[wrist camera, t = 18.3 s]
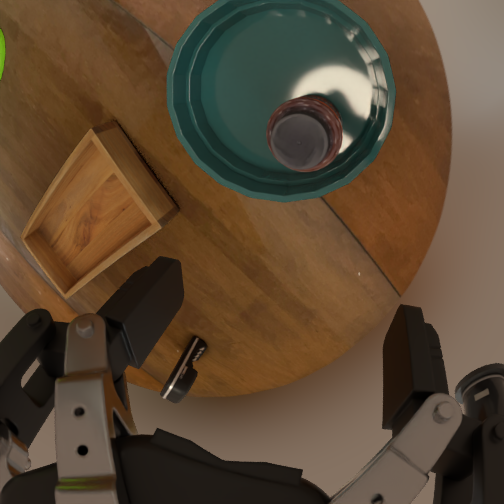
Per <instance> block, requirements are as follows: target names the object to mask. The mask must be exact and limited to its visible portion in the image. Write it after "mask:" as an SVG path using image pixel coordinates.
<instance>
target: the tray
mask: <svg viewBox="0 0 504 504" xmlns="http://www.w3.org/2000/svg"><path fill="white" fill-rule="evenodd" d="M178 212H179V209H178V208H177V206H176V205H175V204H174V202H173V201H172V199H171V198H170V197H169V195H168V194H167V193H166V191H165V190H164V189H163V187H162V186H161V184H160V183H159V182H158V180H157V179H156V177H155V176H154V175H153V173H152V172H151V170H150V169H149V168H148V166H147V165H146V164H145V162H144V161H143V159H142V158H141V157H140V155H139V154H138V152H137V151H136V150H135V148H134V147H133V145H132V144H131V142H130V141H129V140H128V138H127V137H126V135H125V134H124V132H123V131H122V130H121V128H120V127H119V125H118V124H117V122H116V121H113V122H108V123H105V124H102V125H99V126H96V127H93V128H91V129H90V130H89V131H88V133H87V134H86V135H85V136H84V138H83V139H82V140H81V142H80V143H79V144H78V145H77V147H76V148H75V150H74V151H73V152H72V154H71V155H70V156H69V158H68V159H67V161H66V162H65V164H64V165H63V166H62V168H61V169H60V171H59V172H58V174H57V175H56V177H55V178H54V180H53V182H52V183H51V185H50V186H49V188H48V189H47V191H46V193H45V194H44V196H43V197H42V199H41V201H40V202H39V204H38V206H37V207H36V209H35V211H34V212H33V214H32V216H31V218H30V220H29V221H28V223H27V225H26V227H25V229H24V231H23V233H22V235H21V237H20V238H21V239H22V241H23V242H24V244H25V245H26V247H27V248H28V250H29V251H30V253H31V254H32V256H33V257H34V258H35V260H36V261H37V263H38V264H39V265H40V267H41V268H42V270H43V271H44V272H45V274H46V275H47V276H48V278H49V279H50V280H51V281H52V283H53V284H54V285H55V287H56V288H57V289H58V290H59V292H60V293H61V294H62V295H63V296H64V298H65V299H67V298H69V297H70V296H71V295H72V294H74V293H75V292H76V291H77V290H79V289H80V288H81V287H82V286H84V285H85V284H86V283H88V282H89V281H90V280H91V279H93V278H94V277H95V276H96V275H98V274H99V273H100V272H102V271H103V270H104V269H106V268H107V267H108V266H110V265H111V264H112V263H114V262H115V261H116V260H118V259H119V258H121V257H122V256H123V255H125V254H126V253H127V252H129V251H130V250H132V249H133V248H134V247H136V246H137V245H139V244H140V243H141V242H143V241H144V240H146V239H147V238H148V237H150V236H151V235H153V234H154V233H155V232H157V231H158V230H160V229H161V228H162V227H164V226H165V225H166V224H167V223H168V222H169V221H170V220H171V219H172V218H173V217H174V216H175V215H176V214H177V213H178Z"/></svg>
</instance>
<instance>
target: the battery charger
mask: <svg viewBox="0 0 504 504" xmlns="http://www.w3.org/2000/svg"><path fill="white" fill-rule="evenodd" d="M206 348H207V345H206V344H205V343H204V342H203V341H201V340H200V339H199V338H196V337H192V339H191V340H190V342H189V344H188V345H187V347H186V348H185V350H184V352H183V353H182V355H181V357H180V359H179V361H178V362H177V364H176V366H175V368H174V370H173V371H172V373H171V375H170V377H169V379H168V380H167V382H166V384H165V386H164V388H163V389H162V391H161V393H160V395H161V396H162V397H163V398H164V399H165V398H166V399H167V400H169V401H171V402H173V403H179V402H180V401H181V400H182V399H183V398H184V397H185V395H186V394H187V393H188V391H189V390H190V388H191V386H192V385H193V383H194V381H195V379H196V377H197V373H198V372H197V371H196V370H195V369H193V364H192V362H193V361H197V360H199V358H200V357H201V355H202V354H203V353H204V351H205V350H206Z"/></svg>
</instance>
